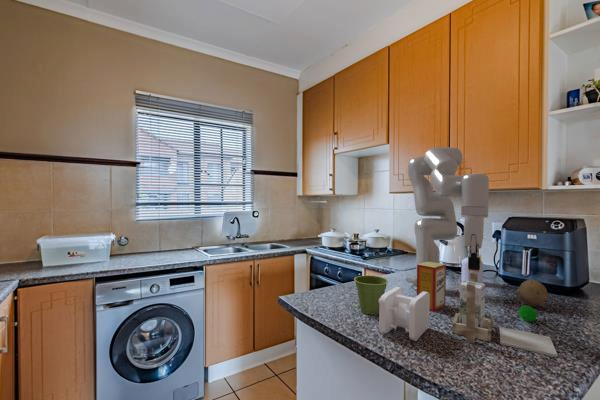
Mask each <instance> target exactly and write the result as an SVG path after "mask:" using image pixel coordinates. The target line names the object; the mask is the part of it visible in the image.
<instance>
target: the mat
mask: <svg viewBox="0 0 600 400" xmlns="http://www.w3.org/2000/svg"><path fill="white" fill-rule="evenodd" d="M499 341H500V343H499V344H500V345H503V346H507V347H512V348H515V349H519V350H524V351H529V352H533V353H536V354H537V353H538V354H542V355H547V356H552V357H555V358H558V352H557V350H556V348H555V345H554V343H553V341H552V339H551V336H548V335H543V334H538V333H533V332H529V331H528V332H527V331H522V330H518V329H512V328H507V327H503V326H499Z"/></svg>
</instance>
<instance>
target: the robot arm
mask: <svg viewBox="0 0 600 400" xmlns="http://www.w3.org/2000/svg"><path fill="white" fill-rule="evenodd" d="M463 157H464V156H463V153H462V151H461V149H460V148H457V147H453V146H450V147H446V146H444V147H442V146H441V147H440V146H437V147H431V148H429V149H427V150H426V152H425V153H424V156H417V157H413V158H411V159H410V160H409V162H408V164H407V175H408V176H407V177H408V178H409V181H410V183H411V186H412V190H413V198H414V206H415V211H416V213H417V215H419V216H423V217H424V218H420V219H418V220H417V221H415V223H414V227H413V228H414V235H415V243H416V248H415V249H416V250H415V251H416V256H415V257H416V261H415V263H416V265H415V269H416V270H415V271H416V272H415V273H416V274H415V277H409V276H407V277H406V279H405V280H406V282H407V283H410V284H411V283H412V287H411V288H412V289H413V290H415V291H417V265H418V264H420V263H423V262H435V263H441V262H440V261H441V260H440V259H441V257H440V253H441V252H440V251H441V250H440V248H439V246H438V245H437V244H436V242H435V241H453V240H455V239H456V238H457V236H458V223H457V217H456V212H455V206H454V205H455V204H454V202H453V200H452V198H461V207H460V208H461V209H460V210H461V211H460V212H461V215H460V216H461V217H462V218H464V221H463V222H464V223H463V245H462V246H463V248H465V249H466V248H467V246H468V245H469V247H468V253H469V256H467V257H468V269H470V270H480V257H479V254H480V249H482V246H483V241H484V240H483V239H484V231H485V230H484V228H485V227H484V223H485V218H489V195H490V194H489V187H490V186H489V183H490V182H489V176H488V175H487V174H486V173H485V174H484V173H468V174H464V175H461V174H460V175H456V173H457V171H458V168H459V167H460V166H461V164H462V163H463V160H464V159H463ZM426 176H430V181H429V179H428V178H427V177H426ZM435 193H436V194H437V195H436V194H435ZM425 217H427V218H425ZM431 217H432V218H431ZM433 217H434V218H433ZM436 217H439V218H436Z"/></svg>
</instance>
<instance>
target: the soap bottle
mask: <svg viewBox="0 0 600 400" xmlns="http://www.w3.org/2000/svg"><path fill="white" fill-rule="evenodd" d="M467 247H468V248H469V245H468V246H467ZM467 247H466V248H467ZM467 254H468V256H469V252H468V253H467ZM468 256H467V257H465V258H463V259H462V260H461V281H460V282H461V283H462V282H463V281H470V272H475V273H478V283H482V284H484V263H483V261H482V260H481V266H480V272H476V271H469V269H468Z"/></svg>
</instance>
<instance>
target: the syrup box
mask: <svg viewBox="0 0 600 400" xmlns="http://www.w3.org/2000/svg"><path fill="white" fill-rule="evenodd" d="M467 283H471V284H475V327H479V328H484V329H485V319H486V317H485V310H486V284H485V283H483V284H482V283H476V282H470V281H463V282H462V281H461V282H460V283H459V314H460V324H465V325H466V309H467Z"/></svg>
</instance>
